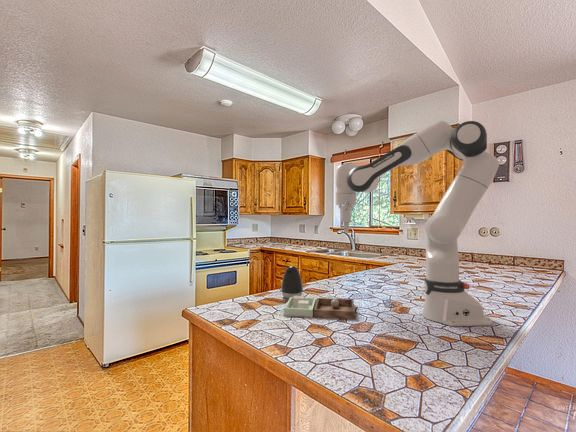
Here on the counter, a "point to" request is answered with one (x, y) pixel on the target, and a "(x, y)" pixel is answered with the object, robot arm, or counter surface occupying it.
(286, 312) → the green tray
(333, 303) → the round pebble
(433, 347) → the counter surface
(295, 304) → the beige cube
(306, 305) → the small beige block
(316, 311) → the walnut crate
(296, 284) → the black rounded cone
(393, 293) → the counter surface
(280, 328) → the counter surface
